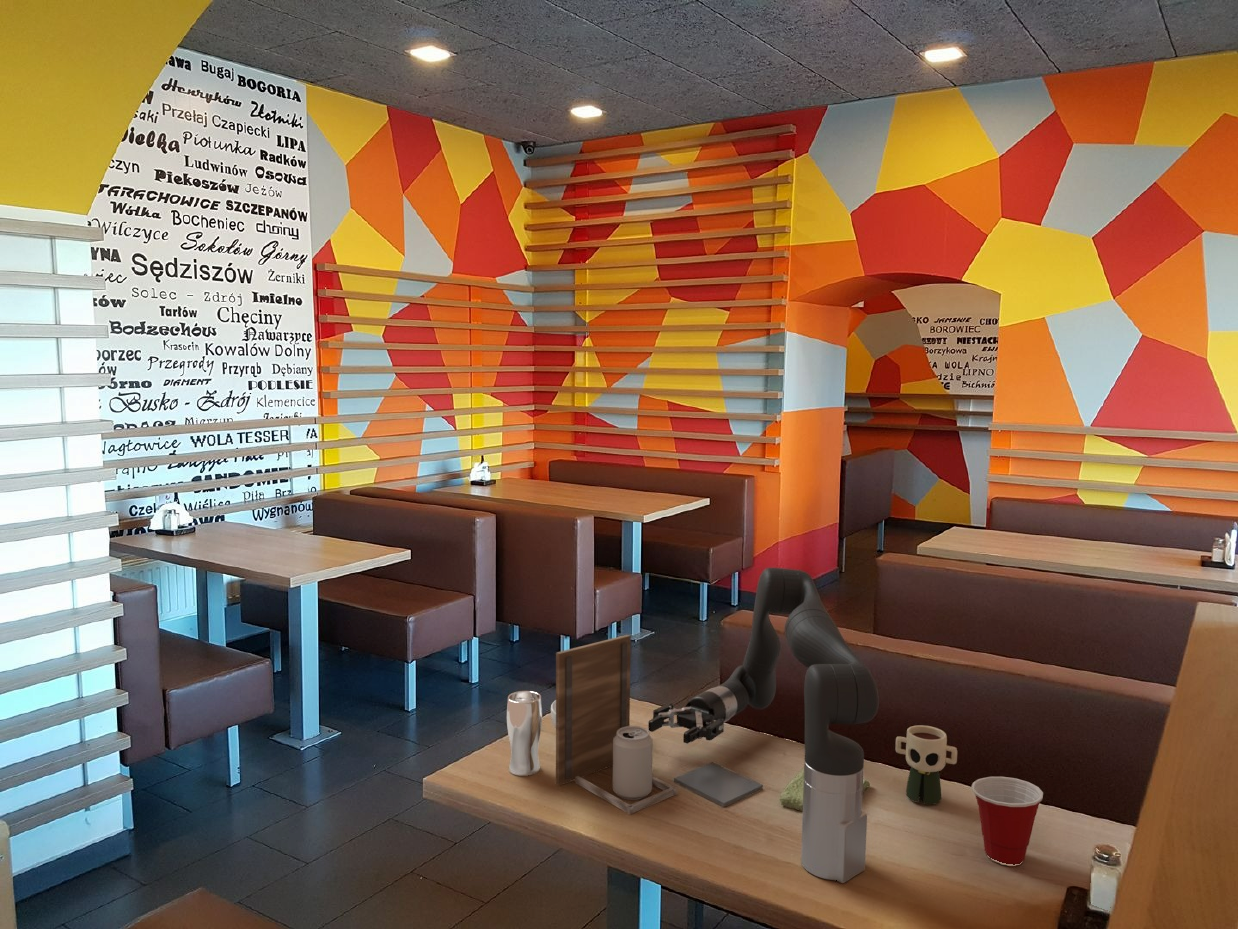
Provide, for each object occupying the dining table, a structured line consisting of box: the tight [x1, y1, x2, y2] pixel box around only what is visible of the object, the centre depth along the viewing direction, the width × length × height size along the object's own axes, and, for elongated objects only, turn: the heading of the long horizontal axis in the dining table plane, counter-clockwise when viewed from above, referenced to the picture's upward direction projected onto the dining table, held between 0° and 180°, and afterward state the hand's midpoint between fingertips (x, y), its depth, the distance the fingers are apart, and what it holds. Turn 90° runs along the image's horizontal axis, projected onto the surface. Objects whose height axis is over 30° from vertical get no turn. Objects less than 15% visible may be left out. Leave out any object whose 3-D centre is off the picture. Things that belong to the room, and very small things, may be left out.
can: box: [612, 725, 654, 801], centre depth 167 cm, size 8×8×12 cm
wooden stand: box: [555, 634, 678, 815], centre depth 168 cm, size 18×18×26 cm
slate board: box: [673, 761, 764, 808], centre depth 171 cm, size 13×11×1 cm
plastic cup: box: [970, 776, 1044, 865], centre depth 146 cm, size 11×11×12 cm
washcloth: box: [779, 767, 871, 812], centre depth 167 cm, size 13×18×3 cm
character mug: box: [895, 725, 958, 805], centre depth 165 cm, size 11×7×13 cm, turn 63°
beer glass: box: [506, 690, 543, 777], centre depth 176 cm, size 7×7×15 cm
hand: (667, 732), depth 175 cm, fingers open, 8 cm apart
